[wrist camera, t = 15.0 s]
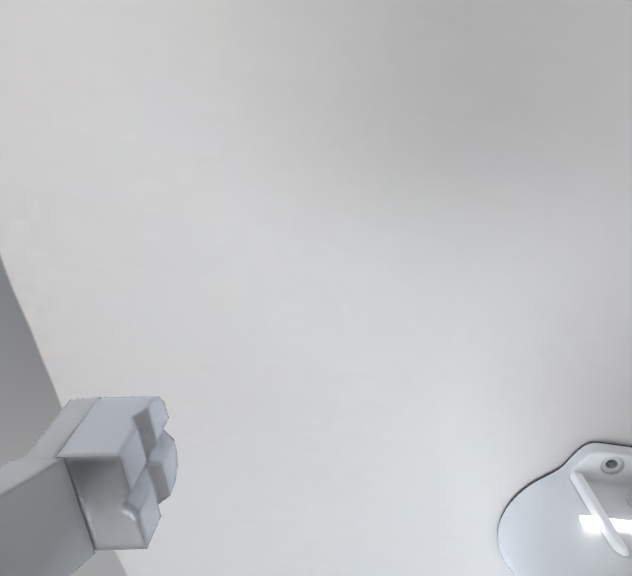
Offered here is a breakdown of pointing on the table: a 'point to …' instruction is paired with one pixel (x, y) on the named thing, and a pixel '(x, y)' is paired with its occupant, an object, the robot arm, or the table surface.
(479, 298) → the table surface
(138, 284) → the table surface
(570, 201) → the table surface
